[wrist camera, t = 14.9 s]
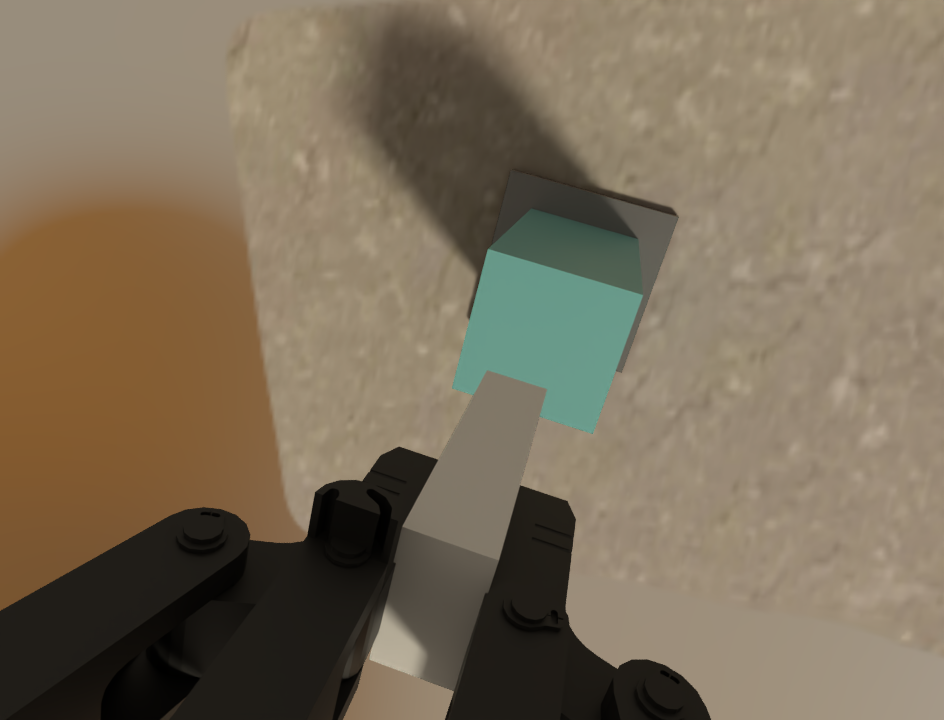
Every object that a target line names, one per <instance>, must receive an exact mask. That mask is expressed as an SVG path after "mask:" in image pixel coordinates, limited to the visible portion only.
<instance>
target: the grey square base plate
mask: <svg viewBox="0 0 944 720" xmlns="http://www.w3.org/2000/svg"><path fill="white" fill-rule="evenodd" d="M531 208H532V209H535V210H539V211H542V212H546V213H549V214H553V215H556V216H560V217H563V218H567V219H570V220H573V221H577V222H580V223H584V224H587V225H591V226H594V227H598V228H601V229H605V230H608V231H612V232H615V233H619V234H622V235H626V236H629V237H633V238H636V239H638V240H639V252H640V264H641V275H642V287H643V297H642V300H641V303H640V305H639V308H638V311H637V314H636V316H635V319H634V322H633V325H632V327H631V330H630V333H629V336H628V338H627V341H626V344H625V347H624V349H623V352H622V355H621V358H620V360H619V363H618V366H617V369H616V371H617V372H621V373H622V370H623V367H624V365H625V362H626V359H627V357H628V354H629V351H630V348H631V346H632V343H633V340H634V337H635V335H636V332H637V329H638V327H639V324H640V321H641V318H642V316H643V313H644V310H645V308H646V305H647V302H648V299H649V297H650V294H651V291H652V288H653V286H654V283H655V280H656V278H657V275H658V272H659V269H660V267H661V264H662V261H663V259H664V256H665V253H666V250H667V248H668V245H669V242H670V239H671V237H672V234H673V231H674V229H675V226H676V223H677V220H678V218H679V217H678V216H676V215H673V214H669V213H666V212H662V211H659V210H655V209H652V208H648V207H644V206H641V205H637V204H634V203H630V202H627V201H623V200H620V199H616V198H612V197H609V196H605V195H602V194H598V193H595V192H591V191H588V190H584V189H580V188H577V187H573V186H570V185H566V184H563V183H559V182H556V181H552V180H548V179H545V178H541V177H538V176H534V175H531V174H527V173H524V172H520V171H516V170H513V169H512V170H511V172H510V176H509V180H508V183H507V187H506V191H505V195H504V199H503V203H502V206H501V210H500V214H499V218H498V222H497V226H496V230H495V233H494V237H493V241H492V245H493V244H494V243H495V242H496V241H497V240H498V239H499V238H500V237H501V236H502V235H503V234H505V233H506V232H507V231H508V230H509V229H510V228H511V227H512V226H513V225H514V224H515V223H516V222H517V221H519V220H520V219H521V218H522V217H523V216H524V215H525V214H526V213H527V212H528V211H529V210H530V209H531ZM492 245H491V246H492Z"/></svg>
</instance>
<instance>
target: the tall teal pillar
mask: <svg viewBox="0 0 944 720" xmlns="http://www.w3.org/2000/svg"><path fill="white" fill-rule="evenodd" d="M642 297H643V287H642V275H641V264H640V252H639V240H638V239H636V238H633V237H629V236H626V235H622V234H619V233H615V232H612V231H608V230H605V229H601V228H598V227H594V226H591V225H587V224H584V223H580V222H577V221H573V220H570V219H567V218H563V217H560V216H556V215H553V214H549V213H546V212H542V211H539V210H535V209H532V208H531V209H530V210H529V211H528V212H527V213H526V214H525V215H524V216H523V217H522V218H521V219H520V220H519V221H517V222H516V223H515V224H514V225H513V226H512V227H511V228H510V229H509V230H508V231H507V232H506V233H505V234H503V235H502V236H501V237H500V238H499V239H498V240H497V241H496V242H495V243H494V244H493V245H492V246H491V247H490V248H488V251H487V255H486V258H485V262H484V266H483V270H482V274H481V278H480V282H479V286H478V289H477V293H476V297H475V301H474V305H473V309H472V313H471V316H470V320H469V324H468V328H467V332H466V336H465V340H464V344H463V347H462V351H461V355H460V359H459V363H458V367H457V371H456V375H455V378H454V382H453V386H452V388H453V389H456V390H459V391H462V392H465V393H468V394H471V395H474V393H475V391H476V390H477V388H478V386H479V384H480V382H481V380H482V379H483V377H484V375H485V373H486V371H487V370H488V371H491V372H495V373H498V374H501V375H504V376H507V377H510V378H513V379H517V380H520V381H523V382H526V383H529V384H532V385H536V386H539V387H542V388H545V389H547V392H546V395H545V399H544V402H543V406H542V409H541V413H540V417H542V418H545V419H548V420H551V421H554V422H557V423H561V424H564V425H567V426H570V427H573V428H576V429H579V430H582V431H585V432H588V433H591V434H593V432H594V429H595V426H596V424H597V421H598V418H599V415H600V413H601V410H602V407H603V404H604V402H605V399H606V396H607V393H608V391H609V388H610V385H611V382H612V380H613V377H614V374H615V371H616V369H617V366H618V363H619V360H620V358H621V355H622V352H623V349H624V347H625V344H626V341H627V338H628V336H629V333H630V330H631V327H632V325H633V322H634V319H635V316H636V314H637V311H638V308H639V305H640V303H641V300H642Z"/></svg>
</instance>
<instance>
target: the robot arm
mask: <svg viewBox="0 0 944 720" xmlns="http://www.w3.org/2000/svg"><path fill="white" fill-rule="evenodd" d="M546 392H547V389H545V388H542V387H539V386H536V385H532V384H529V383H526V382H523V381H520V380H517V379H513V378H510V377H507V376H504V375H501V374H498V373H495V372H491V371H488V370H487V371H486V373H485V375H484V377H483V379H482V380H481V382H480V384H479V386H478V388H477V390H476V391H475V393H474V395H473V397H472V399H471V401H470V403H469V404H468V406H467V408H466V410H465V412H464V414H463V415H462V417H461V419H460V421H459V423H458V425H457V427H456V428H455V430H454V432H453V434H452V436H451V438H450V439H449V441H448V443H447V445H446V447H445V449H444V450H443V452H442V454H441V456H440V458H439V460H437V459H434V458H431V457H428V456H425V455H422V454H419V453H416V452H413V451H410V450H407V449H404V448H402V447H397V448H395V449H393V450H391V451H389V452H387V453H385V454H383V455H381V456H380V457H379V459H378V460H377V461H376V463H375V464H374V466H373V467H372V468H371V470H370V472H368V474H367V475H366V477H365V478H364V479H363V481H358V480H339V481H336V482H332V483H329V484H326V485H324V486H323V487H321V488H320V489H319V490H317V491H316V492H315V496H314V502H313V507H312V513H311V518H310V524H309V529H308V535H307V537H306V538H305V540H304V541H303V542H295V543H273V542H263V541H253V540H250V533H249V530H248V527H247V525H246V523H245V522H243V521H242V520H241V519H240V518H239V517H238V516H237V515H235V514H232V513H229V512H227V511H224V510H221V509H214V508H205V507H203V508H195V509H187V510H184V511H181V512H179V513H176V514H173V515H171V516H169V517H167V518H165V519H163V520H162V521H160V522H158V523H156V524H155V525H153V526H151V527H149V528H147V529H145V530H144V531H142V532H140V533H138V534H137V535H135V536H133V537H131V538H129V539H128V540H126V541H124V542H122V543H121V544H119V545H117V546H115V547H113V548H112V549H110V550H108V551H106V552H104V553H103V554H101V555H99V556H97V557H96V558H94V559H92V560H90V561H88V562H87V563H85V564H83V565H81V566H79V567H78V568H76V569H74V570H72V571H71V572H69V573H67V574H65V575H63V576H62V577H60V578H58V579H56V580H55V581H53V582H51V583H49V584H47V585H46V586H44V587H42V588H40V589H38V590H37V591H35V592H33V593H31V594H30V595H28V596H26V597H24V598H22V599H21V600H19V601H17V602H15V603H14V604H12V605H10V606H8V607H6V608H5V609H3V610H1V611H0V720H343V718H344V716H345V714H346V712H347V709H348V707H349V705H350V703H351V701H352V698H353V696H354V694H355V692H356V690H357V688H358V684H359V680H360V676H361V672H362V668H363V664H364V662H365V660H366V658H367V656H368V653H369V651H370V649H371V647H372V650H371V654H370V658H369V659H370V660H372V661H375V662H377V663H380V664H383V665H385V666H388V667H391V668H394V669H396V670H399V671H402V672H404V673H407V674H409V675H412V676H415V677H418V678H420V679H423V680H425V681H428V682H431V683H433V684H436V685H439V686H441V687H444V688H447V689H450V690H452V691H454V693H453V697H452V700H451V703H450V706H449V709H448V712H447V715H446V718H445V720H711V718H710V716H709V713H708V711H707V708H706V706H705V704H704V703H703V701H702V699H701V698H700V696H699V694H698V692H697V691H696V690H695V689H694V688H693V687H692V685H690V683H689V682H687V680H685V679H684V677H683V676H681V675H680V674H678V673H677V672H675V671H673V670H672V669H670V668H669V667H667V666H665V665H663V664H659V663H656V662H653V661H650V660H630V661H628V662H626V663H624V664H622V665H620V666H619V668H618V669H617V668H615V667H613V666H612V665H610V664H609V663H607V662H606V661H604V660H603V659H601V658H600V657H598V656H597V655H595V654H594V653H593V652H592V651H590V650H589V649H588V648H586V647H585V646H584V645H583V644H582V643H581V641H579V639H578V638H577V637H576V636H575V634H574V632H573V631H572V629H571V628H570V626H569V619H568V615H567V613H566V610H565V605H566V597H567V589H568V580H569V572H570V563H571V555H572V554H571V552H572V547H573V537H574V530H575V522H576V519H575V517H574V514H573V512H572V510H571V508H570V506H569V504H568V501H565V500H562V499H559V498H556V497H553V496H550V495H547V494H544V493H541V492H538V491H535V490H532V489H529V488H527V487H524V486H521V485H520V484H521V480H522V477H523V473H524V470H525V466H526V463H527V459H528V456H529V452H530V448H531V445H532V441H533V438H534V434H535V431H536V427H537V424H538V420H539V417H540V413H541V409H542V406H543V402H544V399H545V395H546ZM372 645H373V646H372Z"/></svg>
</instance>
